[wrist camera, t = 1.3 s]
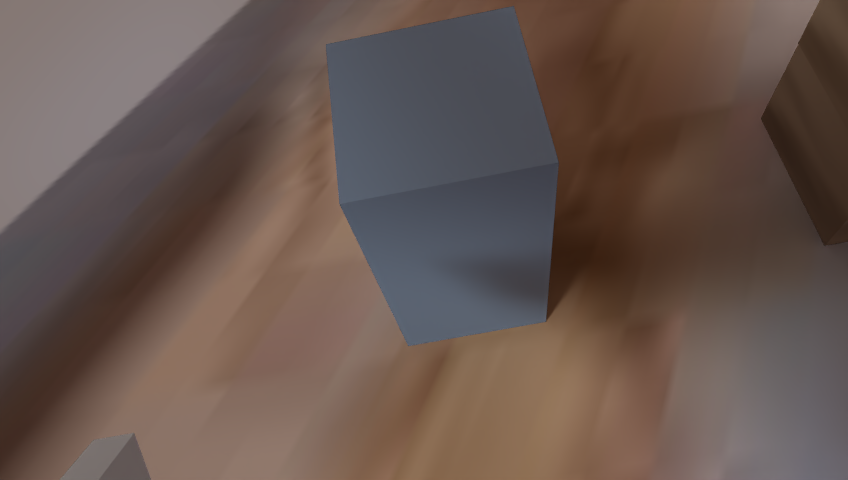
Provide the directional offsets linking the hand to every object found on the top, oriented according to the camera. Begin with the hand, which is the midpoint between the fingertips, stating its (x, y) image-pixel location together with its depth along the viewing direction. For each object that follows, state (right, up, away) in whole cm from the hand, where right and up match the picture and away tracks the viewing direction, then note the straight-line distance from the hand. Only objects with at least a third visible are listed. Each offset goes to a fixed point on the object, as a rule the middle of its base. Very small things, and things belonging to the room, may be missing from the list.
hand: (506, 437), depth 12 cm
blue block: (0, +2, +18) cm, 18 cm away
